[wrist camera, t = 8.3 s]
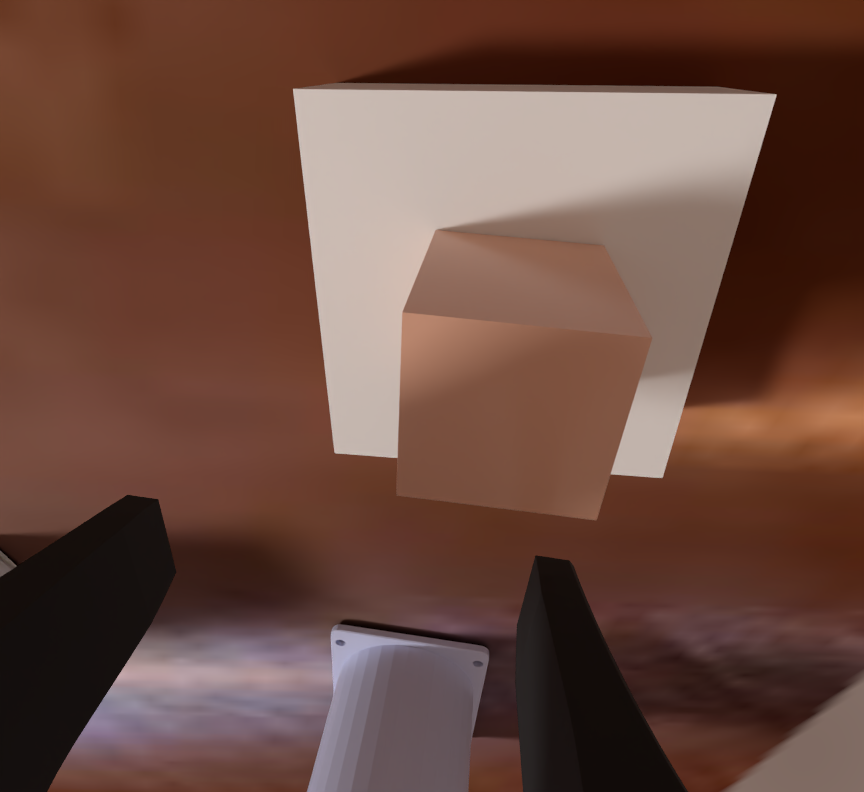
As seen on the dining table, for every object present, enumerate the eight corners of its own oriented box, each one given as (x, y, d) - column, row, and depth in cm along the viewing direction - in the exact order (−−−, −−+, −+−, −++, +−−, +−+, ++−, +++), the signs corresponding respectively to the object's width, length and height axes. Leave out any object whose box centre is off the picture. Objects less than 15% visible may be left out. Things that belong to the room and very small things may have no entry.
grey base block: (635, 405, 20) (662, 477, 16) (362, 388, 20) (334, 453, 17) (712, 86, 14) (777, 93, 11) (340, 82, 15) (293, 88, 12)
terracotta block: (570, 389, 15) (596, 520, 11) (426, 373, 15) (396, 495, 11) (603, 245, 13) (652, 337, 9) (435, 230, 13) (402, 312, 9)
